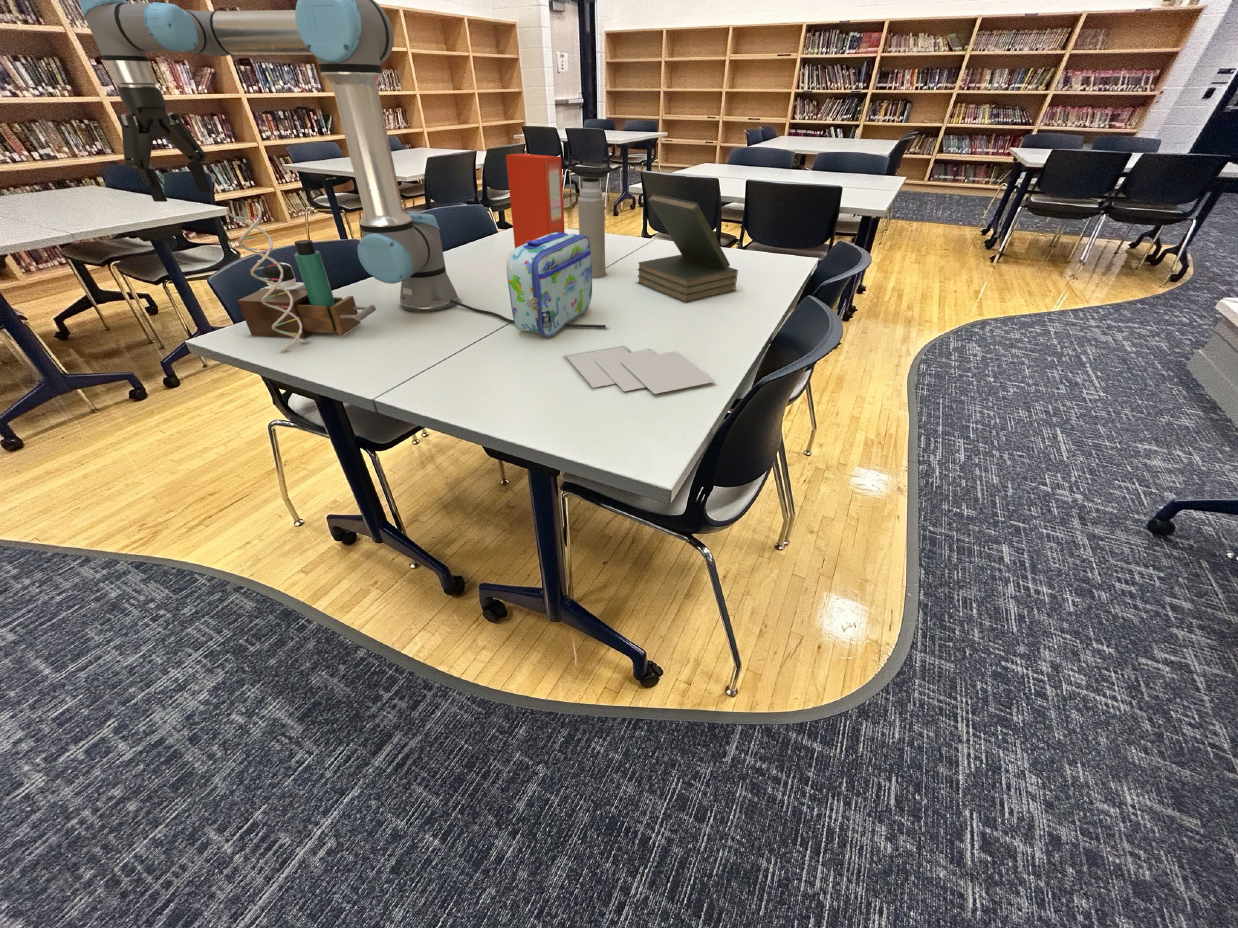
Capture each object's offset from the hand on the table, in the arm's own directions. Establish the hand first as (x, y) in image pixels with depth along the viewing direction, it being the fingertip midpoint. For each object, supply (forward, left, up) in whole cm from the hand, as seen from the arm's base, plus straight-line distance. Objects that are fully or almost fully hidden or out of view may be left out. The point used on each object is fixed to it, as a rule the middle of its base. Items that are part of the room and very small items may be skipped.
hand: (184, 197), depth 125 cm
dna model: (-30, +20, -28) cm, 46 cm away
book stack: (-120, -37, -28) cm, 129 cm away
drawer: (-36, +10, -27) cm, 46 cm away
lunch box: (-87, -2, -28) cm, 92 cm away
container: (-17, 0, -28) cm, 33 cm away
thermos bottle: (-90, -47, -28) cm, 106 cm away
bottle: (-34, +10, -26) cm, 44 cm away
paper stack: (-110, +24, -28) cm, 116 cm away
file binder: (-69, -63, -28) cm, 98 cm away
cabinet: (-23, +10, -28) cm, 37 cm away
